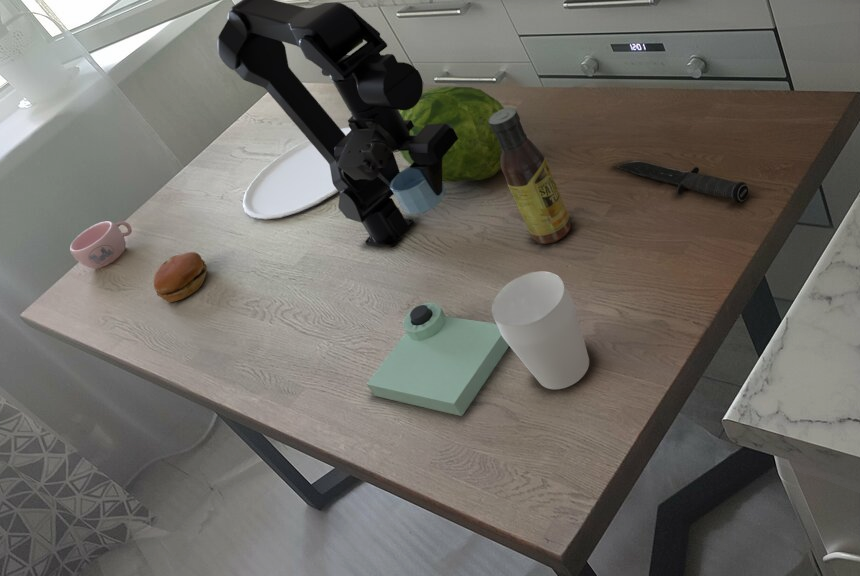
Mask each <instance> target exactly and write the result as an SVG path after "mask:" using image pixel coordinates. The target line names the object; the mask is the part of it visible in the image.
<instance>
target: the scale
mask: <svg viewBox="0 0 860 576" xmlns="http://www.w3.org/2000/svg"><path fill="white" fill-rule="evenodd" d="M419 305H425V306H427V307H428V309H429V311H430V312H431V314H432V316H431V318H430V320H429V321H427V322H426V323H424V324H422V325H419V326H418V325H415V324H414V322H413V321H412V319H411V318H410V313H411V311H412V310H413V309H414V308H412V309H411V310H409V312H408V313H407V314H406V316H404V318H403V320H402V321H403V322H402V328H403V329H404V331H405V333H404V334H403V336H402V338H401V339H400V340H399V341H398V343H397V344H396V345H395V346H394V348H393V349H391V352H390V353H389V354H388V355H387V357H386V358H385V359H384V361H382V363H381V365H379V367H378V369H376V371H375V372H374V373H373V375H372V376H371V377H370V379H369V380H368V381H367V383H366V386H367V387H368V389H369V390H370V392H371V393H372V395H374V397H378V398H382V399H387V400H391V401H395V402H399V403H404V404H409V405H413V406H417V407H421V408H424V409H429V410H433V411H437V412H442V413H446V414H451V415H455V416H459V417H463V416H464V414H465V413H466V411H467V410H468V408H469V407H470V406H471V404H472V403H473V401H474V399H475V398H476V397H477V395H478V393H479V392H480V390H481V389H482V387H483V386H484V384H485V383H486V381H487V380H488V378H489V377H490V376H491V374H492V372H493V371H494V370H495V369H496V367H497V366H498V363H499V362H500V361H501V359H502V358H503V356H504V354H505V353H506V352H507V350H508V349H509V347H510V346H509V345H508V343H507V342H506V341H505V340H504V338H503V337H502V335H501V333H500V331H499V328H498V326H497V324H496V322H495V323H494V322H487V321H480V320H473V319H466V318H459V317H454V316H447V315H446V313H445V312H444V310H443V308H442V307H441V305H440V304H439V303H437V302H431V301H428V302H425V303H421V304H418V305H417V306H419Z"/></svg>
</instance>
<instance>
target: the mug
mask: <svg viewBox="0 0 860 576" xmlns="http://www.w3.org/2000/svg"><path fill="white" fill-rule="evenodd" d="M120 226H124V227H126V229H127V231H126V232H122V230H121V229H120V228H119V227H120ZM132 231H133V228H132V226H131V224H130V223H129V222H127V221H123V220H121V221H118V222H116V223H114V222H112V221H109V220H108V221H101V222H99V223H96V224H94V225H92V226H90V227H89V228H87V229H85V230H84V231H82V232H81V233H80V234H79V235H77V236H76V238H75V239H74V240H73V241H72V242H71V243H70V248H69V250H70V251H69V252H70V254H71V256H72V257H73V258H74V259H75V260H76V261H77V262H78V263H80V264H81V265H83V266H85V267H87V268H89V269H95V270H96V269H101V268H103V267H106V266H107V265H110V264H111V263H113V262H114V261H116V260H117V259H119V257H120V256H121V255H123V253H124V251H125V250H126V246H127V245H126V239H125V237H128V236H130V235H131V234H132Z"/></svg>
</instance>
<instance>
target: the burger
mask: <svg viewBox="0 0 860 576" xmlns="http://www.w3.org/2000/svg"><path fill="white" fill-rule="evenodd" d="M205 263H206V262H205V260H204V259H202V256H201V255H200V253H197V252H195V251H190V252H189V251H188V252H185V253H182V254H178V255H174V256H171V257H170V258H169V259H168V260H165V261H164V262H163V263H162V264H161V265H160V267H159V268H158V269H157V271H156V272H155V273H154V277H153V282H152V283H153V287H154V289H155V293H156V296H157V297H159V298H162V299H163V300H164V301H166V302H168V303H173V302H177V301H180V300H183V299H185V298H188V297H189V296H190V295H192V294H194V293H195V292H197V291H198V290H199V289H200V287H202V286H203V284H204V280H205V278H206V275H207V269H208V266H207V265H206V264H205Z"/></svg>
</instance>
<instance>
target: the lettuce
mask: <svg viewBox="0 0 860 576" xmlns="http://www.w3.org/2000/svg"><path fill="white" fill-rule="evenodd" d="M502 109H505V107H504V106H503V105H502V103H501V102H500V101H499V100H497V99H496V98H494V97H492V96H491V95H489V94H488V93H486V92H485V91H484V90H482V89H480V88H475V87H472V86H471V87H470V86H437V87H432V88H429V89H427V90H424V91H422V95H421V98H420V100H419V102H418V103H417V104H416V105H415V106H414V107H413V108H411V109H409V110H399V112H400V114H401V116H402V118H403V120H411V121H412V123H413V125H414V127H413V128H412V129H411V130H410V131H409V133H410V135H417V134H418V133H419V132H420V131H421V130H422V129H423V128H424V127H425V125H426V124H442V123H446V124H450V125H452V127H453V129H454V131H455V133H456V135H457V137H458V140H457V141H456V142H455V143H454V144H453V146H452V147H451V148H450V149H449V150H448V151H447V153H446V154H445V155H444V156H443V159H442V182H447V183H448V182H451V183H460V182H462V183H463V182H470V181H482V180H486V179H489V178H492V177H494V176H495V175H496V174H497V173H498V172H499V171H500V170H502V169H501V164H500V158H501V157H500V156H501V154H502V148H501V147H500V145H499V141H498V139H497V137H496V134H495V132H494V131H493V130H492V129H491V127H490V124H489V118H490V117H491V116H492V115H493V114H494V113H496V112H498V111H500V110H502ZM408 152H409V151H398V153H399V154H400V155H401V157H402V158H403V160H405V161H406V162H407V163H408V164H409V165H411V164H412V163H413V162H414V161H413V160H412V159H411V157H410V156H409V154H408Z"/></svg>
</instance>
